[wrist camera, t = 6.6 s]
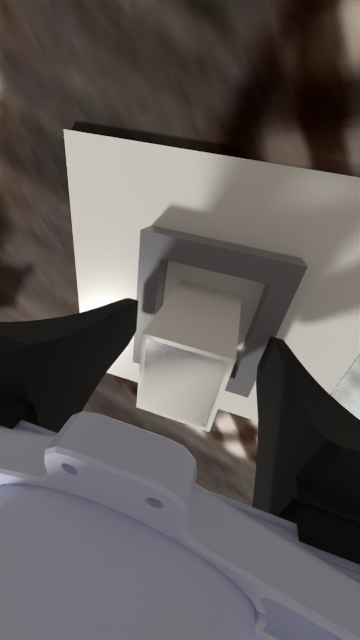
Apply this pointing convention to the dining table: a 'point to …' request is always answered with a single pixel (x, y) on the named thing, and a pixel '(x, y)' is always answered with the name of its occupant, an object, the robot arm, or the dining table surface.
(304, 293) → the socket plate
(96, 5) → the dining table surface
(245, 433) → the dining table surface
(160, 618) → the robot arm
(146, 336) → the light grey box
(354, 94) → the dining table surface
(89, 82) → the dining table surface
